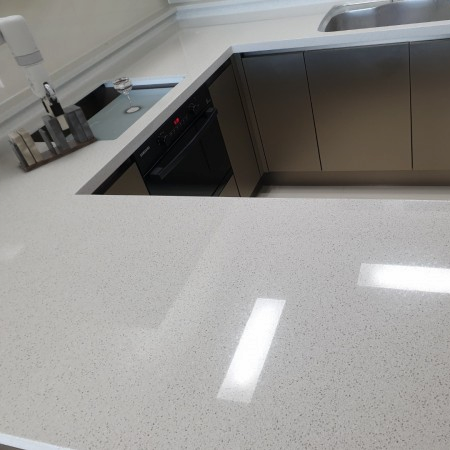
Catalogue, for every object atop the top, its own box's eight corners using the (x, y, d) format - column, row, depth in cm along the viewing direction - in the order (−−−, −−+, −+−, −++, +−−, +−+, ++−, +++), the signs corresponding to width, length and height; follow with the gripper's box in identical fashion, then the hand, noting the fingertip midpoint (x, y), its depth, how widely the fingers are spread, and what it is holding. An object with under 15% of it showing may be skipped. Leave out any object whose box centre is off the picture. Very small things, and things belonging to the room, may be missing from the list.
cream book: (62, 130, 153) (48, 101, 147) (56, 126, 157) (42, 98, 151) (69, 127, 154) (55, 99, 148) (62, 124, 158) (48, 96, 153)
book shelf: (27, 171, 149) (7, 137, 142) (20, 165, 154) (0, 132, 147) (97, 140, 161) (81, 107, 154) (88, 136, 166) (72, 103, 159)
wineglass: (131, 106, 185) (119, 77, 178) (144, 106, 182) (133, 76, 175) (120, 113, 180) (108, 83, 173) (134, 113, 178) (122, 83, 171)
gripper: (9, 60, 146) (36, 113, 157) (25, 66, 135) (53, 122, 145) (32, 52, 150) (57, 104, 160) (50, 58, 139) (76, 113, 149)
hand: (55, 113), depth 153 cm, fingers closed on cream book, 6 cm apart
